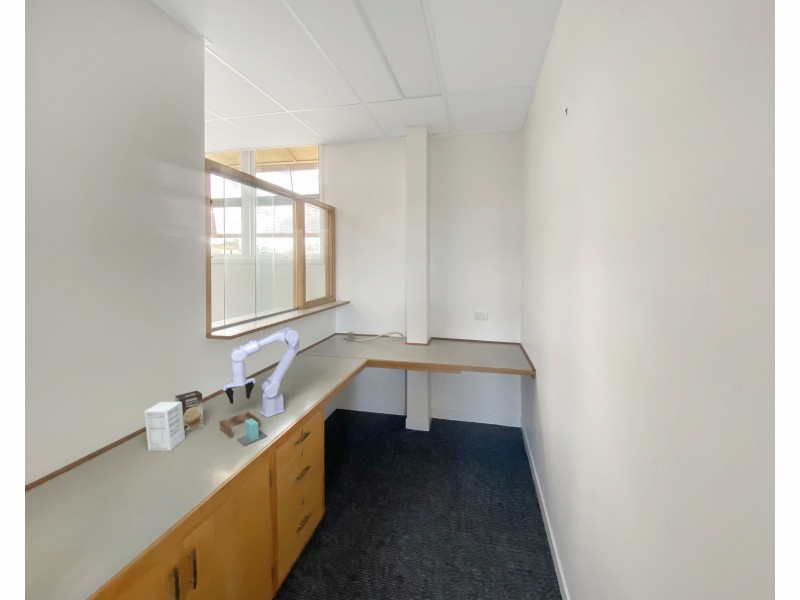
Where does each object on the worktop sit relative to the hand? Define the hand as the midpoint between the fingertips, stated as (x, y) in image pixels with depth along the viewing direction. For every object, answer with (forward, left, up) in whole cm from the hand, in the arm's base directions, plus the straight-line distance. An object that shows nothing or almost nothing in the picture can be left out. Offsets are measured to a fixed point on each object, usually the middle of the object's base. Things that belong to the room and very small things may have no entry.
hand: (240, 400), depth 157 cm
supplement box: (+30, 0, -10) cm, 31 cm away
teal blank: (+4, +21, -9) cm, 23 cm away
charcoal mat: (+4, +21, -9) cm, 23 cm away
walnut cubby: (+4, +9, -9) cm, 14 cm away
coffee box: (+19, -8, -10) cm, 23 cm away
